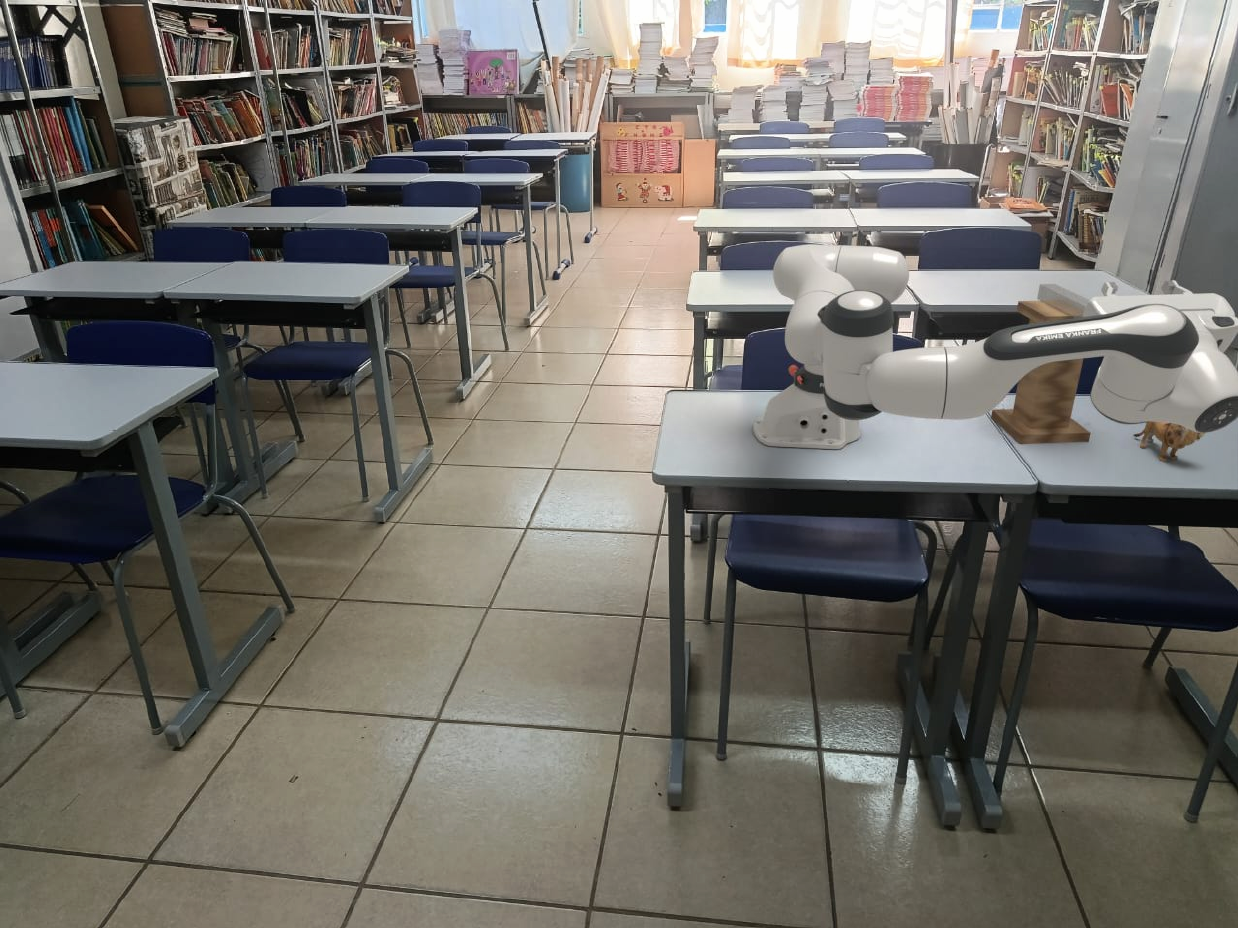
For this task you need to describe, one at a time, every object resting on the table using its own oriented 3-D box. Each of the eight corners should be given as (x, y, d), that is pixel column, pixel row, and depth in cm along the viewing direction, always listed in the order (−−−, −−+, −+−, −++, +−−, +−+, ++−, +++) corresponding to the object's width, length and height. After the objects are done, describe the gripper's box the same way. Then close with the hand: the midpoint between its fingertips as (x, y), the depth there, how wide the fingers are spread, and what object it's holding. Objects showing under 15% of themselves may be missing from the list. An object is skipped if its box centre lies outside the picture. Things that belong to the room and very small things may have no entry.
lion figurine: (1200, 467, 156) (1213, 422, 152) (1174, 469, 155) (1186, 425, 152) (1144, 437, 169) (1154, 395, 165) (1120, 439, 169) (1130, 397, 165)
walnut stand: (1019, 443, 168) (1043, 318, 157) (990, 418, 180) (1011, 300, 169) (1088, 441, 168) (1117, 316, 157) (1055, 416, 180) (1079, 298, 169)
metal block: (1093, 328, 150) (1097, 311, 149) (1037, 298, 170) (1039, 284, 169) (1110, 327, 150) (1113, 311, 149) (1051, 298, 170) (1054, 283, 169)
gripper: (1094, 358, 127) (1064, 302, 136) (1232, 355, 126) (1192, 298, 135) (1111, 326, 122) (1078, 270, 132) (1254, 323, 122) (1211, 266, 131)
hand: (1137, 284), depth 133 cm, fingers open, 8 cm apart
